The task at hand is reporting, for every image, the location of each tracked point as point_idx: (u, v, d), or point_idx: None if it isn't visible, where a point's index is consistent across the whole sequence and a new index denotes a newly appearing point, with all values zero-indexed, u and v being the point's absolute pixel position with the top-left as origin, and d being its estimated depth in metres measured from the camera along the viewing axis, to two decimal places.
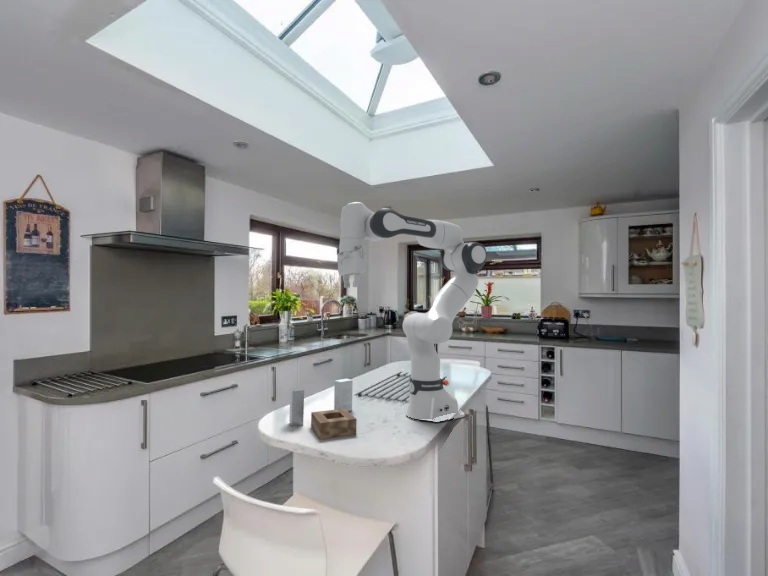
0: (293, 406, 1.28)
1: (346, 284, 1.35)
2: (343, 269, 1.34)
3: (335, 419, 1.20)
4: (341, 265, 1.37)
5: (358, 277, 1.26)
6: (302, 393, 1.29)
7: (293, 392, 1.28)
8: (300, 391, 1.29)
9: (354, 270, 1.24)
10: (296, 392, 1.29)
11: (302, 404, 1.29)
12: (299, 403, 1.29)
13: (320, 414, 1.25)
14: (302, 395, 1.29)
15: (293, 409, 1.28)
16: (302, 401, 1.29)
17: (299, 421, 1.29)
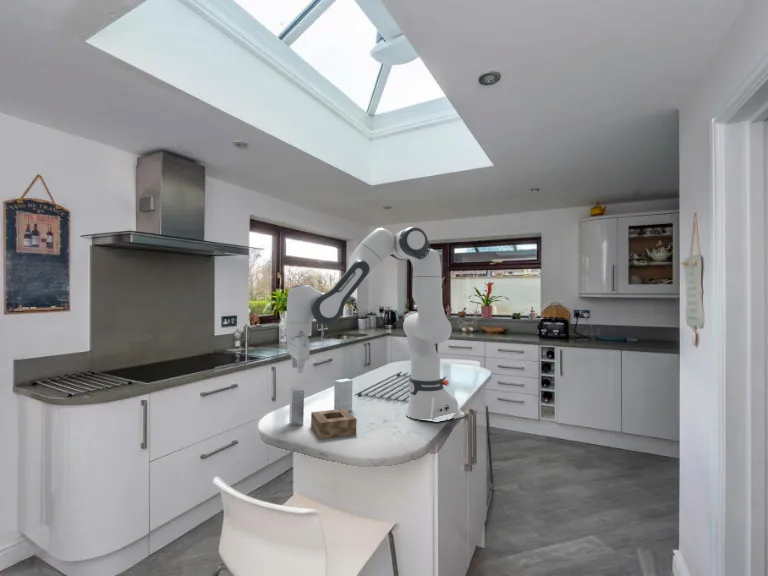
0: (293, 406, 1.28)
1: (293, 364, 1.34)
2: (290, 350, 1.34)
3: (335, 419, 1.20)
4: (289, 344, 1.36)
5: (302, 363, 1.25)
6: (302, 393, 1.29)
7: (293, 392, 1.28)
8: (300, 391, 1.29)
9: (297, 358, 1.23)
10: (296, 392, 1.29)
11: (302, 404, 1.29)
12: (299, 402, 1.29)
13: (320, 414, 1.25)
14: (302, 395, 1.29)
15: (293, 409, 1.28)
16: (302, 401, 1.29)
17: (299, 421, 1.29)
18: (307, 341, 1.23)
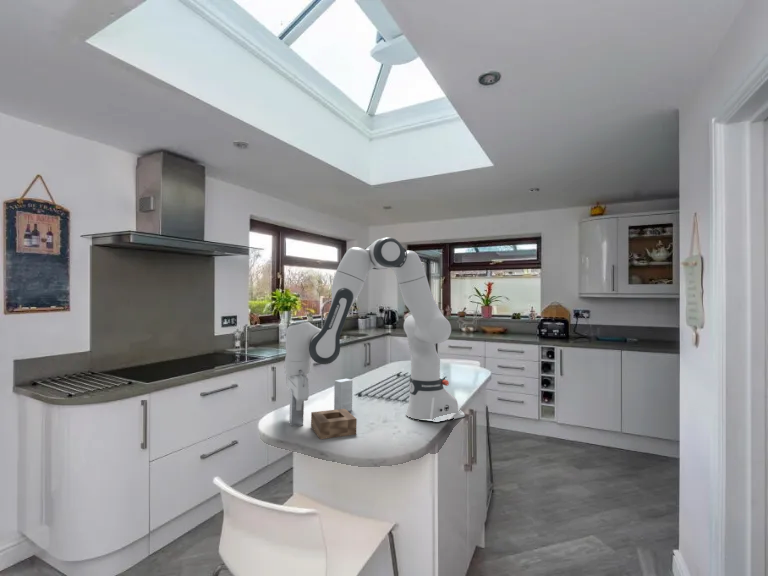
0: (293, 406, 1.28)
1: None
2: (290, 387, 1.33)
3: (335, 419, 1.20)
4: (288, 380, 1.36)
5: (300, 401, 1.27)
6: None
7: None
8: None
9: (296, 398, 1.23)
10: None
11: (302, 404, 1.29)
12: None
13: (320, 414, 1.25)
14: None
15: (293, 409, 1.28)
16: None
17: (299, 421, 1.29)
18: (306, 381, 1.23)
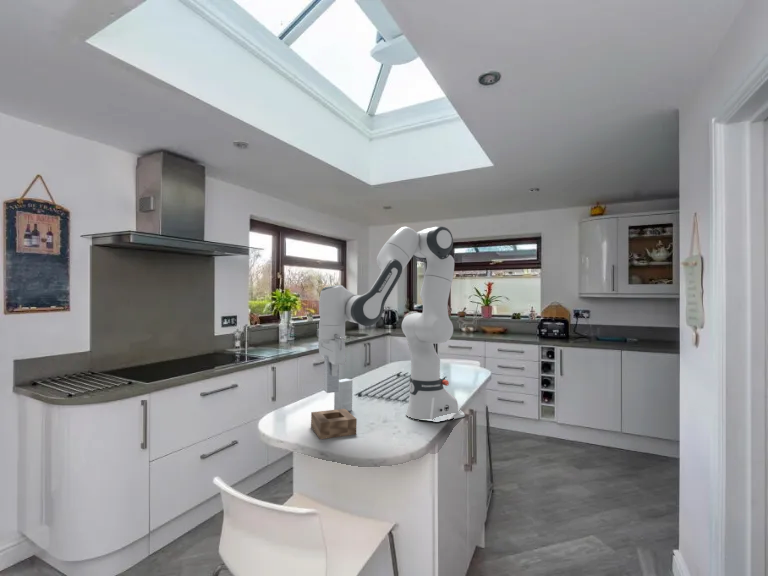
0: (328, 372, 1.24)
1: None
2: (323, 353, 1.29)
3: (335, 419, 1.20)
4: (322, 348, 1.31)
5: (336, 366, 1.22)
6: None
7: None
8: None
9: (333, 362, 1.18)
10: None
11: (337, 370, 1.25)
12: None
13: (320, 414, 1.25)
14: None
15: (328, 375, 1.23)
16: None
17: (335, 388, 1.24)
18: (343, 344, 1.18)
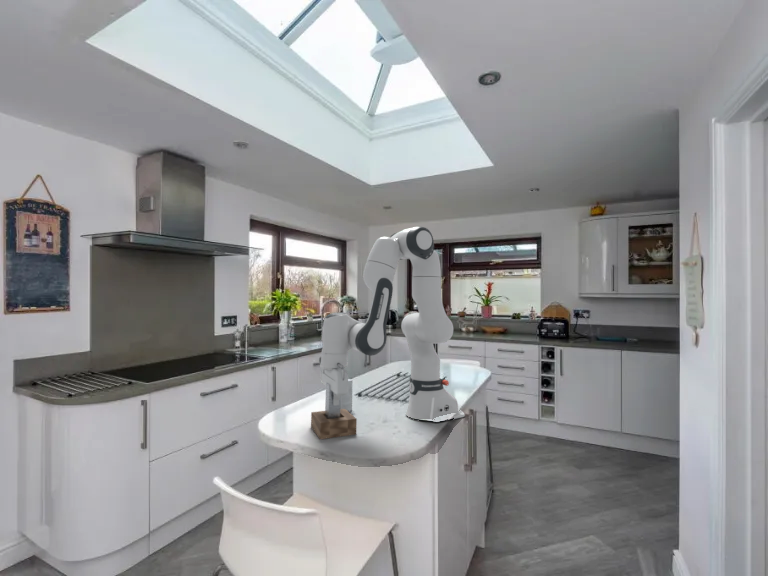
0: (330, 401, 1.22)
1: None
2: (325, 381, 1.27)
3: (335, 419, 1.20)
4: (323, 374, 1.30)
5: (338, 396, 1.21)
6: None
7: None
8: None
9: (335, 392, 1.17)
10: None
11: (339, 399, 1.24)
12: None
13: (320, 414, 1.25)
14: None
15: (330, 404, 1.22)
16: None
17: (336, 417, 1.23)
18: (346, 374, 1.17)
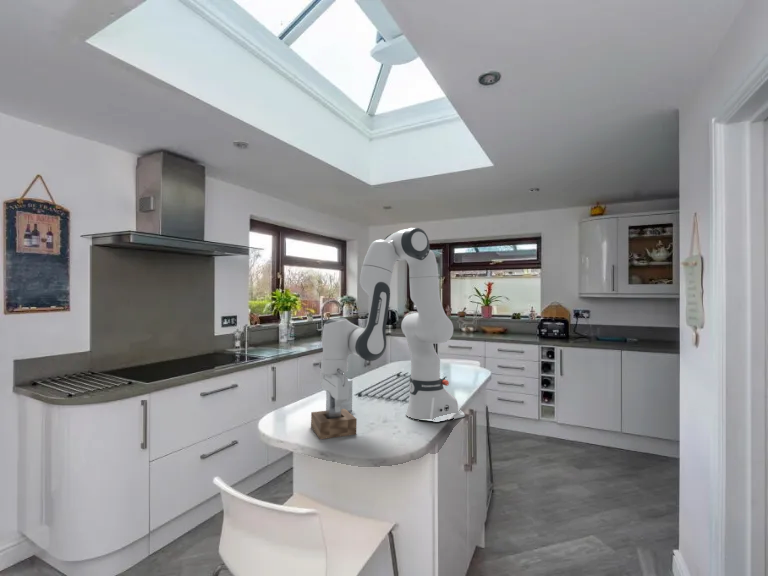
0: (330, 409, 1.22)
1: None
2: (326, 386, 1.27)
3: (335, 419, 1.20)
4: (324, 380, 1.30)
5: (339, 402, 1.20)
6: None
7: (330, 394, 1.22)
8: None
9: (335, 398, 1.17)
10: None
11: None
12: None
13: (320, 414, 1.25)
14: None
15: (330, 412, 1.22)
16: None
17: None
18: (346, 380, 1.17)
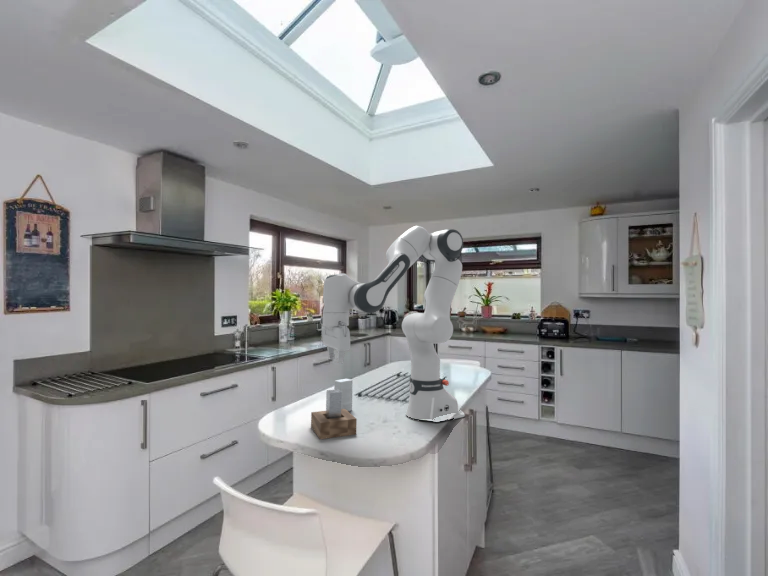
0: (330, 409, 1.22)
1: (330, 356, 1.31)
2: (327, 341, 1.30)
3: (335, 419, 1.20)
4: (325, 335, 1.33)
5: (342, 354, 1.22)
6: (339, 395, 1.24)
7: (330, 394, 1.22)
8: (337, 393, 1.23)
9: (337, 348, 1.20)
10: (333, 394, 1.23)
11: (339, 407, 1.24)
12: (336, 405, 1.23)
13: (320, 414, 1.25)
14: (339, 397, 1.24)
15: (330, 412, 1.22)
16: (339, 404, 1.24)
17: None
18: (347, 331, 1.20)
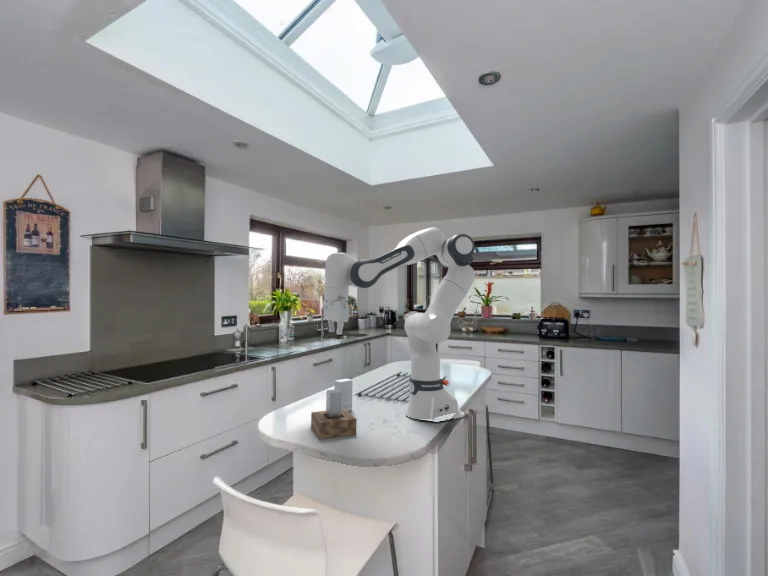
0: (330, 409, 1.22)
1: (331, 329, 1.42)
2: (328, 315, 1.42)
3: (335, 419, 1.20)
4: (326, 310, 1.44)
5: (341, 325, 1.33)
6: (339, 395, 1.24)
7: (330, 394, 1.22)
8: (337, 393, 1.23)
9: (337, 319, 1.31)
10: (333, 394, 1.23)
11: (339, 407, 1.24)
12: (336, 405, 1.23)
13: (320, 414, 1.25)
14: (339, 397, 1.24)
15: (330, 412, 1.22)
16: (339, 404, 1.24)
17: None
18: (346, 304, 1.31)
